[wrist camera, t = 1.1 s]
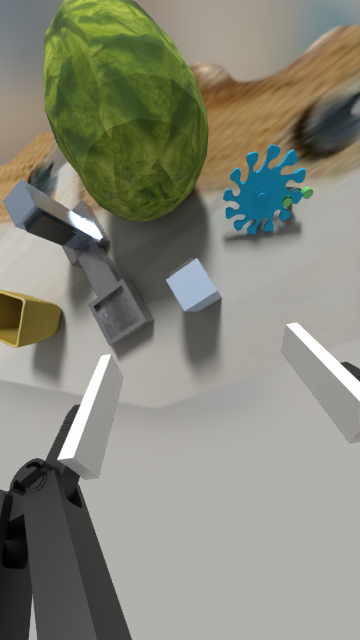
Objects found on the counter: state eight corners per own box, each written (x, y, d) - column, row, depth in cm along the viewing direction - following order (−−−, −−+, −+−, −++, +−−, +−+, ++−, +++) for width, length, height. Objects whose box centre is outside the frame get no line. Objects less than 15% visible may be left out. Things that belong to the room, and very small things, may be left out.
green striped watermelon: (190, 78, 30) (133, -245, 13) (224, 214, 29) (215, 70, 12) (98, 137, 35) (-32, -35, 18) (126, 253, 35) (19, 192, 17)
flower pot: (40, 292, 41) (-11, 287, 32) (70, 301, 39) (24, 298, 30) (34, 329, 42) (-17, 334, 33) (63, 341, 40) (16, 348, 31)
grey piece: (90, 206, 36) (24, 157, 25) (154, 320, 34) (113, 324, 22) (61, 233, 39) (-11, 199, 27) (120, 342, 36) (66, 356, 24)
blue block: (205, 271, 31) (193, 252, 21) (221, 297, 30) (217, 290, 21) (183, 285, 32) (162, 274, 22) (198, 311, 31) (184, 311, 22)
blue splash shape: (218, 234, 28) (230, 145, 21) (219, 219, 32) (230, 140, 25) (293, 239, 27) (336, 146, 19) (286, 223, 31) (319, 140, 23)
